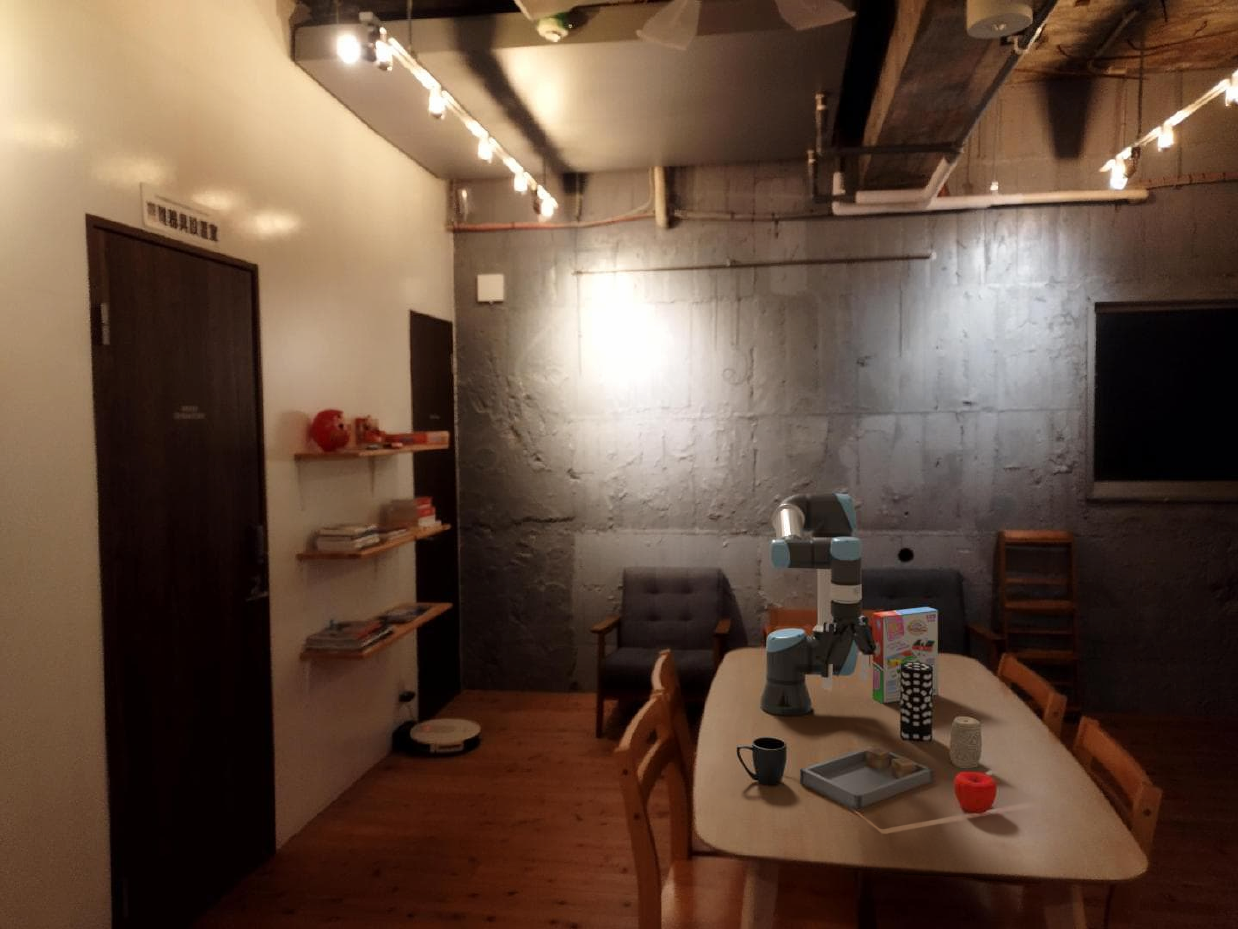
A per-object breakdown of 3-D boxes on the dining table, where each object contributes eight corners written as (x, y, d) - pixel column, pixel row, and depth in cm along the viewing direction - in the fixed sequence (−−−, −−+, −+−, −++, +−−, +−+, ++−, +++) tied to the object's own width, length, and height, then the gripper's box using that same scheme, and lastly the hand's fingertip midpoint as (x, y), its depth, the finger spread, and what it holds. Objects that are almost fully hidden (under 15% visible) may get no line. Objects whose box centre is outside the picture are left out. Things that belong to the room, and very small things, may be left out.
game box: (927, 690, 274) (928, 606, 272) (938, 696, 269) (939, 610, 267) (871, 698, 268) (871, 612, 266) (882, 704, 262) (882, 615, 261)
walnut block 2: (891, 775, 209) (891, 759, 209) (905, 773, 211) (905, 757, 210) (901, 782, 206) (901, 766, 205) (916, 780, 207) (916, 763, 207)
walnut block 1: (866, 766, 215) (866, 750, 215) (874, 761, 218) (874, 746, 217) (880, 771, 212) (880, 755, 212) (889, 766, 215) (889, 750, 214)
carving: (982, 773, 212) (982, 725, 211) (949, 769, 214) (950, 722, 214) (981, 763, 218) (981, 717, 217) (949, 759, 220) (949, 713, 220)
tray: (800, 783, 208) (800, 769, 207) (874, 758, 222) (874, 745, 221) (857, 812, 192) (857, 796, 192) (933, 783, 206) (933, 769, 206)
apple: (974, 823, 187) (975, 788, 186) (944, 806, 195) (944, 772, 194) (1005, 815, 190) (1005, 780, 190) (974, 799, 198) (974, 765, 198)
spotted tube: (931, 734, 237) (932, 663, 236) (932, 746, 229) (933, 672, 228) (900, 731, 240) (900, 660, 239) (899, 742, 232) (900, 669, 231)
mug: (735, 774, 213) (734, 736, 213) (783, 774, 213) (783, 736, 212) (738, 788, 205) (738, 749, 204) (789, 789, 205) (789, 750, 204)
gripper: (823, 609, 203) (823, 698, 204) (891, 596, 217) (890, 679, 218) (799, 604, 209) (799, 690, 210) (867, 591, 223) (866, 672, 224)
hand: (845, 684), depth 214 cm, fingers open, 13 cm apart
